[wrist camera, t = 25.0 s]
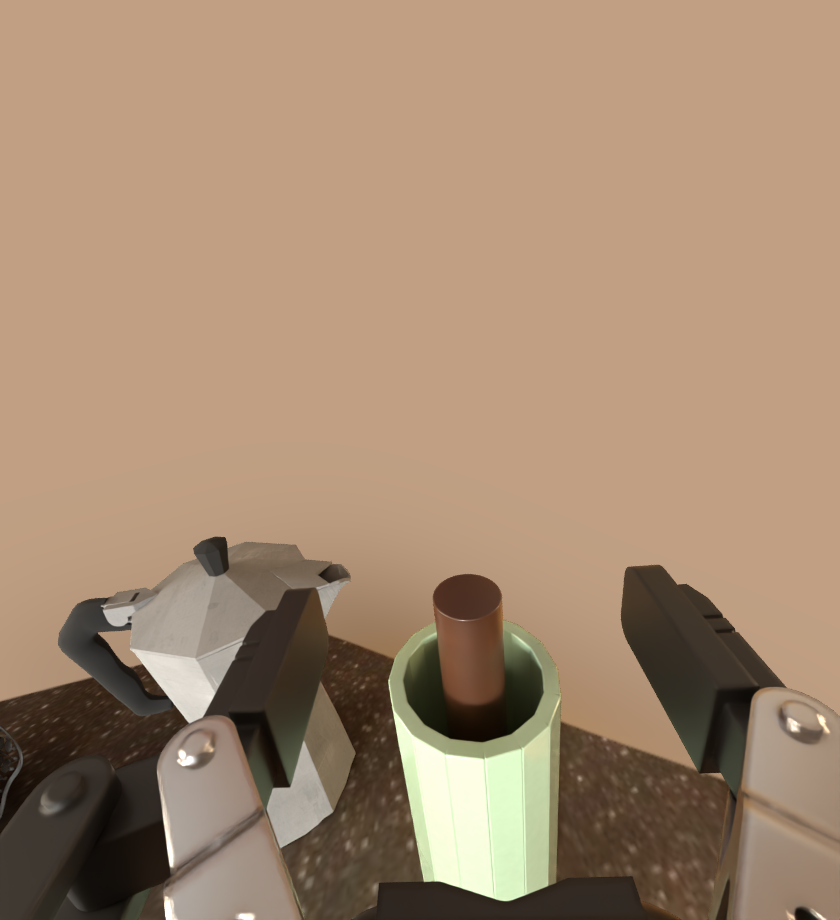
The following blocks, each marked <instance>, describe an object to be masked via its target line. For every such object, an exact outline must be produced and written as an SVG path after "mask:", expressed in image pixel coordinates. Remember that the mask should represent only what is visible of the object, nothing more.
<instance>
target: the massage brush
mask: <svg viewBox="0 0 840 920" xmlns="http://www.w3.org/2000/svg"><path fill="white" fill-rule="evenodd" d="M2 730H3V732H5V733H6V734H7V735H1V734H0V749H2V748H3V747H4V739H3V737H4V738H5V737H7V738H6V740H7V741H6V742H5V750H6V752H10V751H11V749H12V750H17V749H18V753H19V759H17V756H16V757H15V756H14V757H13V758H11V759H14V760H15V761H13V762H12V763H14V762H16V761H17V760H19V763H18V766H17V768H16V770H15V769H14V767H11V768H10V765H11V764H12V763H11V761H10V759H7V760H5V761H4V762H3V757H2V756H0V766H1V765H2V767H1V769H0V770H1V771H2V773H5V772H7V771H8V770H9V768H10V770H13V769H14V770H15V772H14V773H13V775H12V776H11V777H10V779H9V781H8V782H7V784H6V787H5V789H4V793H3V792H2V789H0V793H1V792H2V793H3V797H2V802H1V806H0V819H1V817H2V814H3V811H4V807H5V803H6V798H7V794H8V791H9V788H10V786H11V783H12V782H13V780H14V778H15V777H16V776H17V774H18V773H19V771H20V770H21V767H22V764H23V753H22V750H21V748H20V746H19V745H18V743H17V742H16V741H15V739H14V738H13V737H12V736H11V735H10V734H9V733H8V732H7V731H6V730H5V729H4V728H3V727H1V726H0V731H2ZM9 739H10V740H12V741H13V742H14V744H15V745H16V747H17V749H16V747H14V746H13V748H12V743H11V741H10V740H9ZM0 753H1V754H2V755H4V756H7V753H4V752H3V751H1V750H0ZM8 756H9V755H8ZM10 757H11V756H10ZM16 759H17V760H16ZM2 762H3V763H2ZM0 779H1V780H6V779H7V777H4V778H3V777H2V776H1V775H0Z"/></svg>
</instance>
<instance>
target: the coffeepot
mask: <svg viewBox="0 0 840 920" xmlns="http://www.w3.org/2000/svg"><path fill="white" fill-rule="evenodd" d="M193 549H194V554H195V556H196V557H197V559H195V560H192V561H189V562H186V563H183V564H182V565H181V566H180V567H178V568H177V569H176V570H175V571H174V572H173V573H171V574H170V575H169V576H168V577H166V578H165V579H164V580H163V581H162V582H160V583H159V584H158V585H157V586H155V587H154V588H153V589H152V590H149V589H147V588H141V589H135V590H129V591H123V592H117V593H116V594H115V595H114V596H113V597H108V598H95V599H89V600H85V601H83V602H81V603H78V604H77V605H76V606H75V608H74V609H73V610H72V612H71V614H70V615H69V617H68V619H67V620H66V622H65V624H64V626H63V627H62V629H61V631H60V633H59V639H58V645H59V647H60V648H61V650H62V651H63V652H64V653H65V654H66V655H67V656H68V657H69V658H70V659H72V660H73V661H74V662H75V663H77V664H78V665H79V666H80V667H82V668H83V669H84V670H85V671H86V672H87V673H89V674H90V675H91V676H92V677H93V678H94V679H95V680H97V681H98V682H99V683H100V684H101V685H102V686H103V687H104V688H105V689H106V690H107V691H109V692H110V693H111V694H112V695H114V696H115V697H116V698H117V699H118V700H119V701H121V702H122V703H123V704H125V705H126V706H127V707H128V708H129V709H131V710H132V711H133V712H134V713H135V714H136V715H139V716H147V715H152V714H157V713H160V712H164V711H167V710H170V709H172V708H173V705H174V704H175V706H176V707H177V708H178V710H179V711H180V712H181V713H182V715H183V716H184V717H185V719H186V720H187V721H188V722H189V724H190V723H191V722H193V721H195V720H197V719H200V718H203V716H204V714H205V712H206V710H207V708H208V707H209V705H210V703H211V701H212V699H213V697H214V695H215V693H216V691H217V689H218V688H219V686H220V684H221V682H222V680H223V678H224V676H225V674H226V672H227V670H228V669H229V667H230V665H231V663H232V661H233V660H235V655H236V653H237V651H238V650H239V648H240V646H242V642H243V640H244V638H245V636H246V634H247V632H248V631H249V629H250V627H251V625H252V624H253V623H254V622H255V621H256V620H257V619H258V618H259V617H260V616H261V615H262V614H263V613H264V612H265V611H266V610H276V609H277V607H278V605H279V602H280V600H281V598H282V596H283V594H284V592H285V591H286V590H287V589H297V588H311V587H315V588H316V589H317V590H318V593H319V597H320V601H321V605H322V609H323V614H324V618H326V616H327V613H328V611H329V609H330V607H331V605H332V603H333V601H334V599H335V597H336V596H337V594H338V592H339V590H340V589H341V588H342V586H344V585H345V584H347V583H348V582H350V581H351V576H350V573H349V572H348V570H347V569H346V568H344V566H342V565H340V564H332V562H327V561H315V560H305V559H304V557H303V556H302V554H301V553H300V551H299V549H298V548H297V546H296V545H288V544H271V543H256V542H244V543H241V544H238V545H235V546H232V547H229V548H227V541H226V538H225V537H213V538H210V539H207V540H204V541H201V542H200V543H199V544H198V545H197V546H195V547H194V548H193ZM124 630H131V644H130V649H131V651H133V652H134V653H135V654H136V656H137V657H138V658H139V660H140V661H141V662H142V663H143V665H144V666H145V667H146V669H147V670H148V671H149V672H150V674H151V675H152V676H153V678H154V679H155V680H156V681H157V683H158V684H159V685H160V686H161V688H162V689H163V690H164V692H165V693H166V694H167V695H168V696H160V695H152V694H150V693H148V692H147V691H146V690H145V688H144V686H143V684H142V682H141V680H140V678H139V677H138V675H137V673H136V672H135V671H134V670H133V669H131V668H130V667H128V666H126V665H125V664H123V663H122V662H121V661H120V660H119V658H118V657H117V656H116V655H115V653H114V652H113V650H112V649H111V647H110V646H109V644H108V643H107V642H106V641H105V640H104V639H103V638H102V637H101V636H100V635H99V634H98V632H108V631H124ZM355 754H356V753H355V750H354V748H353V746H352V744H351V742H350V740H349V737H348V735H347V733H346V731H345V729H344V727H343V724H342V722H341V720H340V718H339V716H338V714H337V712H336V710H335V708H334V706H333V704H332V702H331V700H330V698H329V696H328V694H327V693H326V691H325V689H324V687H323V685H322V683H321V681H320V684H319V687H318V691H317V694H316V698H315V701H314V705H313V709H312V712H311V716H310V719H309V723H308V726H307V730H306V734H305V737H304V741H303V744H302V748H301V752H300V755H299V759H298V762H297V766H296V769H295V773H294V777H293V780H292V784H291V787H290V788H273V790H272V793H271V796H270V799H269V802H268V806H267V811H268V814H269V817H270V820H271V823H272V825H273V828H274V831H275V834H276V837H277V840H278V843H279V845H280V848H282V847H283V846H285V845H287V844H289V843H291V842H293V841H294V840H296V839H298V838H300V837H302V836H303V835H305V834H306V833H308V832H309V831H310V830H312V829H313V828H314V827H315V826H317V825H318V824H319V823H320V822H321V821H322V820H323V819H324V818H325V817H327V816H328V815H329V814H331V813H332V812H333V811H334V809H335V807H336V804H337V802H338V800H339V797H340V795H341V793H342V791H343V789H344V787H345V785H346V782H347V778H348V775H349V771H350V767H351V764H352V762H353V759H354V756H355Z"/></svg>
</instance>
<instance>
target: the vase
mask: <svg viewBox="0 0 840 920" xmlns="http://www.w3.org/2000/svg"><path fill="white" fill-rule="evenodd" d="M503 637H504V662H505V686H506V711H507V736H503V737H500V738H496V739H493V740H489V741H486V742H473V741H464V740H455V739H450V738H449V735H448V726H447V718H446V709H445V700H444V692H443V683H442V675H441V666H440V658H439V649H438V640H437V632H436V623H435V622H434V623H432V624H430V625H428V626H427V627H425V628H423V629H421V630H420V631H418V632H416V633H415V634H414V635H412V636H411V638H410V639H409V640H408V641H407V642H406V644H405V645H404V646H403V647H402V649H401V650H400V651H399V652H398V653H397V655H396V657H395V660H394V664H393V667H392V670H391V674H390V677H389V683H388V685H389V691H390V697H391V703H392V709H393V714H394V720H395V725H396V731H397V736H398V742H399V747H400V753H401V758H402V764H403V769H404V775H405V780H406V786H407V791H408V797H409V802H410V808H411V813H412V819H413V824H414V830H415V835H416V840H417V846H418V851H419V857H420V862H421V868H422V873H423V879H424V882H432V881H440V882H443V883H447V884H450V885H453V886H456V887H459V888H462V889H466V890H469V891H472V892H475V893H478V894H481V895H484V896H488V897H491V898H494V899H497V900H501V901H510V900H514V899H516V898H519V897H521V896H524V895H526V894H529V893H532V892H534V891H537V890H539V889H542V888H544V887H547V886H549V885H552V884H555V883H556V869H557V831H558V794H559V757H560V719H561V691H560V683H559V674H558V669H557V666H556V664H555V663H554V661H553V659H552V658H551V656H550V655H549V653H548V651H547V650H546V648H545V647H544V645H543V644H542V643H541V641H539V640H538V639H537V638H535V637H534V636H533V635H531V634H530V633H529V632H527V631H526V630H525V629H523V628H522V627H521V626H518V625H517V624H515V623H511V622H509V621H506V620H503Z"/></svg>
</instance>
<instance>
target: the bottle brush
mask: <svg viewBox="0 0 840 920" xmlns="http://www.w3.org/2000/svg"><path fill="white" fill-rule="evenodd" d="M433 606H434V615H435V623H436V632H437V640H438V649H439V658H440V666H441V675H442V683H443V692H444V700H445V709H446V718H447V726H448V735H449V738H450V739H455V740H464V741H473V742H486V741H489V740H493V739H496V738H500V737H503V736H507V711H506V686H505V662H504V637H503V614H502V613H503V612H502V594H501V591H500V589H499V588H498V586H497V585H496V584H495V583H494V582H493V581H491V580H490V579H488V578H485V577H483V576H479V575H473V574H463V575H457V576H453V577H450V578H448V579H446V580H444V581H443V582H442V583H440V584H439V585H438V587H437V588H436V589H435V591H434V594H433Z"/></svg>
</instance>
